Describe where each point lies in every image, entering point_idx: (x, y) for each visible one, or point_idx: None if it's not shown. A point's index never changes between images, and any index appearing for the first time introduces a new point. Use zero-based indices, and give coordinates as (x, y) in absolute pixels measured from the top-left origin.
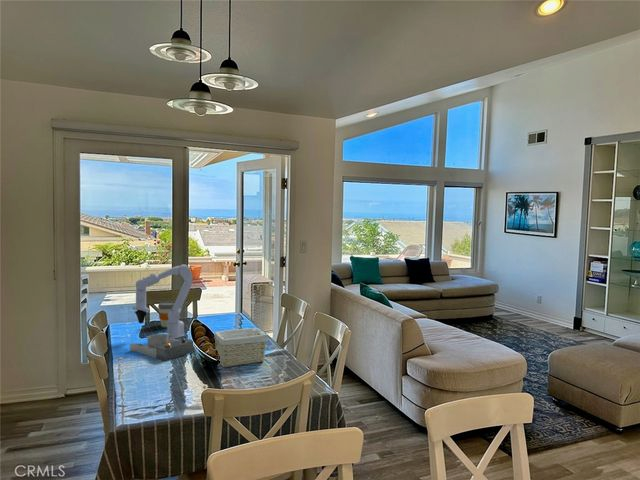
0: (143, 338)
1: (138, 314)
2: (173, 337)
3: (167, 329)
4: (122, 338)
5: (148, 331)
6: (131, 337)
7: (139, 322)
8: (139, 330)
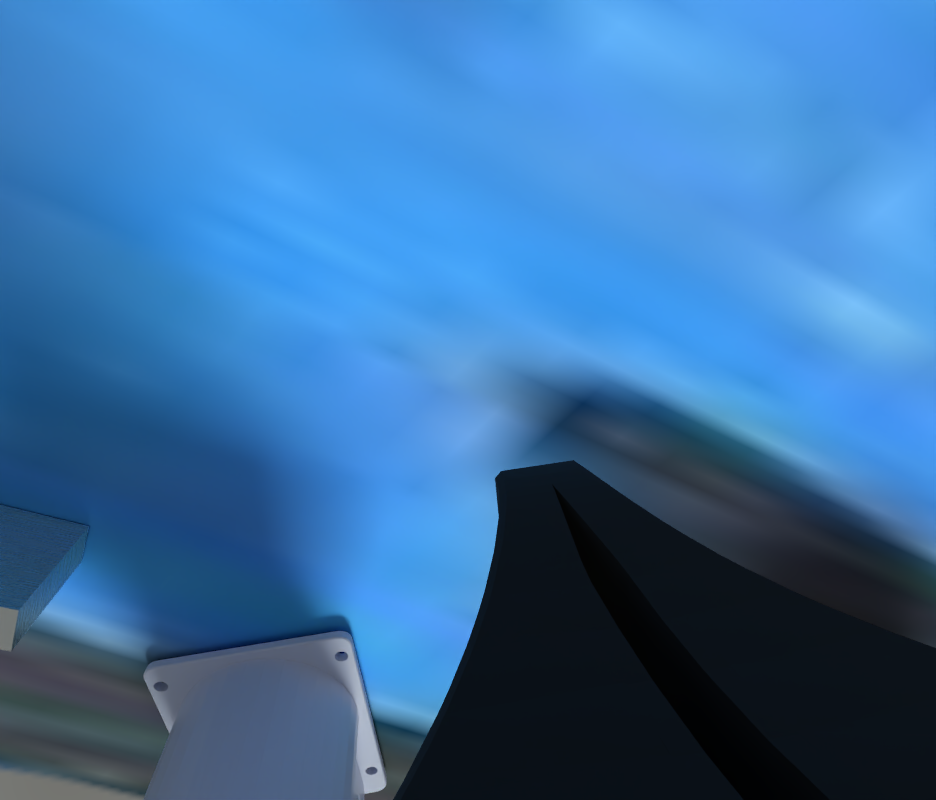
0: (498, 394)
1: (598, 750)
2: (179, 697)
3: (255, 769)
4: (788, 122)
5: None
6: (708, 276)
7: (537, 472)
8: (914, 522)
